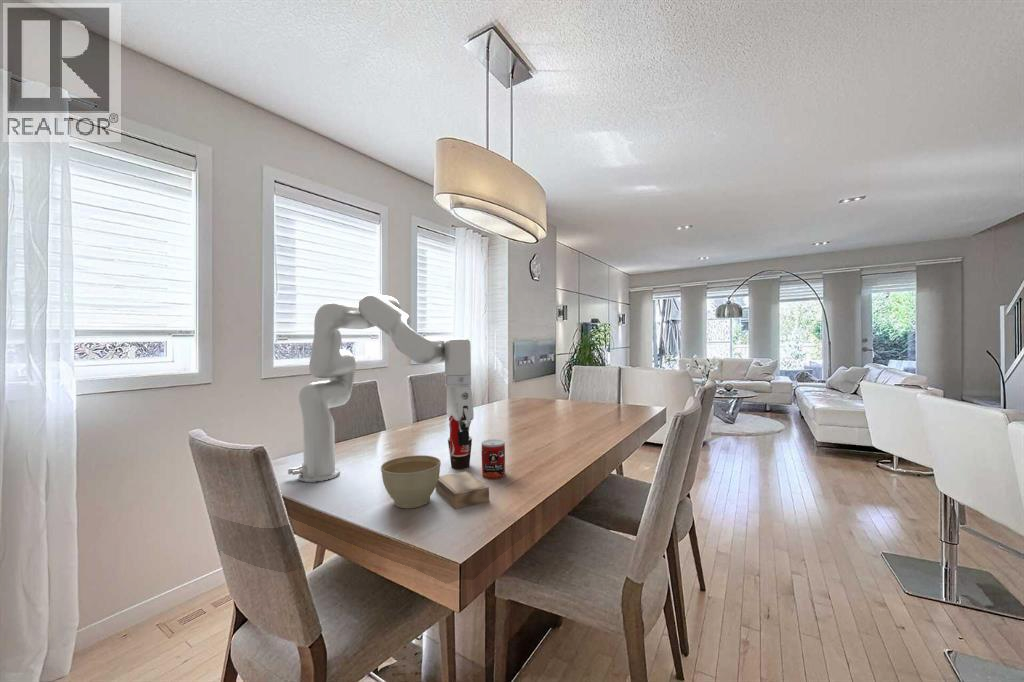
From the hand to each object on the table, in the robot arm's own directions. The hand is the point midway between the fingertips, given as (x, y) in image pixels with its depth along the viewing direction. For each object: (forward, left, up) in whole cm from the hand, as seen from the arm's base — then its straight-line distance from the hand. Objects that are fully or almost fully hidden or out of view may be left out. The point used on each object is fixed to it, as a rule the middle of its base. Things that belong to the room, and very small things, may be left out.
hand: (459, 442), depth 120 cm
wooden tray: (0, -1, -15) cm, 15 cm away
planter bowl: (-14, +2, -15) cm, 21 cm away
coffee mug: (+11, +26, -15) cm, 32 cm away
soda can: (0, 0, -4) cm, 4 cm away
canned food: (+16, +10, -15) cm, 24 cm away
